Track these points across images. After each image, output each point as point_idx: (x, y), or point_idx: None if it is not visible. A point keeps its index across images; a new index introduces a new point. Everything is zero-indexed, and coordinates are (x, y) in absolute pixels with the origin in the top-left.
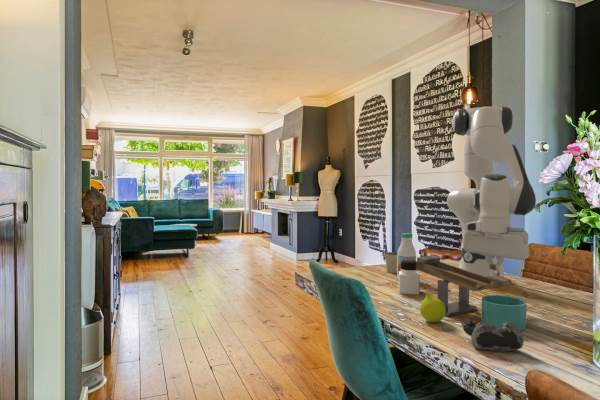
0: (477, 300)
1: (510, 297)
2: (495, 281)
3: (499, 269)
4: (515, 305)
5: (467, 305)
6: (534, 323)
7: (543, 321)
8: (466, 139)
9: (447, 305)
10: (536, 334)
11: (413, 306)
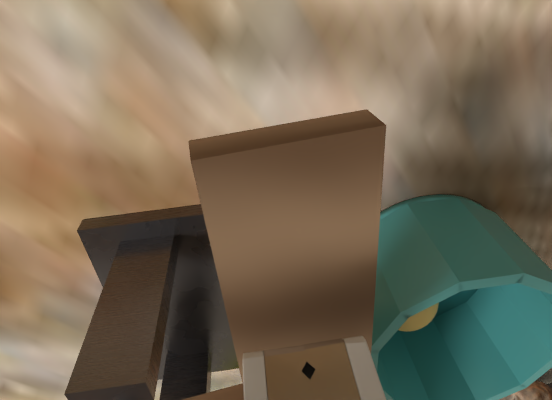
0: (5, 21)
1: (469, 287)
2: (348, 318)
3: (363, 351)
4: (544, 367)
5: (176, 247)
6: (505, 134)
7: (532, 58)
8: None
9: (208, 376)
10: (548, 244)
11: (63, 382)
